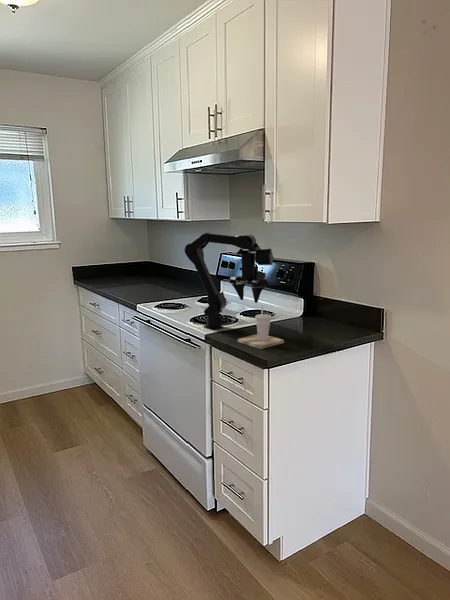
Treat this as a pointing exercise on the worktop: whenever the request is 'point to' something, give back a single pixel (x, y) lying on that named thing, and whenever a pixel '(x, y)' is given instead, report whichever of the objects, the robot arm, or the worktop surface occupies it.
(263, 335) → the smoothie
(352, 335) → the worktop surface
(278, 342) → the cutting board
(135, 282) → the worktop surface
